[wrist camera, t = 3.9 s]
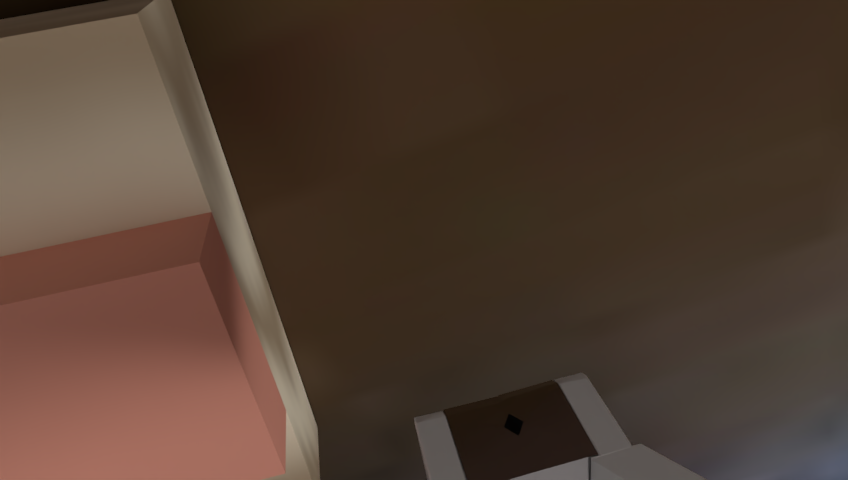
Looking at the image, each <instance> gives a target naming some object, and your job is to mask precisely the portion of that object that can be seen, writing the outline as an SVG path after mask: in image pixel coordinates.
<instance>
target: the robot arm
mask: <svg viewBox="0 0 848 480" xmlns="http://www.w3.org/2000/svg"><path fill="white" fill-rule="evenodd" d="M414 422H415V427H416V431H417V436H418V440H419V445H420V449H421V454H422V458H423V462H424V467H425V471H426V476H427V480H707V479H705V478H703V477H701V476H699V475H698V474H696V473H694V472H692V471H690V470H688V469H687V468H685V467H683V466H681V465H679V464H677V463H676V462H674V461H672V460H670V459H668V458H666V457H665V456H663V455H661V454H659V453H657V452H655V451H653V450H652V449H650V448H648V447H646V446H644V445H642V444H637V445H633V446H632V445H631V443H630V442H629V440H628V439H627V437H626V435H625V434H624V432H623V431H622V429H621V428H620V426H619V425H618V423H617V422H616V420H615V419H614V417H613V415H612V414H611V412H610V411H609V409H608V408H607V406H606V405H605V403H604V402H603V400H602V398H601V397H600V395H599V394H598V392H597V391H596V389H595V388H594V386H593V385H592V383H591V382H590V380H589V378H588V377H587V376H586V375H585V374H583V373H582V372H581V373H577V374H574V375H570V376H566V377H563V378H559V379H556V380H554V381H552V380H551V381H547V382H544V383H540V384H537V385H533V386H530V387H526V388H523V389H519V390H516V391H512V392H509V393H505V394H502V395H498V397H494V398H490V399H486V400H481V401H477V402H473V403H469V404H465V405H461V406H457V407H453V408H449V409H445V410H444V411H438V412H434V413H430V414H426V415H422V416H418V417H415V418H414Z"/></svg>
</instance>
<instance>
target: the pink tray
mask: <svg viewBox="0 0 848 480" xmlns="http://www.w3.org/2000/svg"><path fill="white" fill-rule="evenodd" d="M285 472H286V409H285V406H284V403H283V401H282V398H281V395H280V393H279V390H278V388H277V385H276V382H275V380H274V377H273V374H272V372H271V369H270V366H269V364H268V361H267V358H266V356H265V353H264V350H263V348H262V345H261V342H260V340H259V337H258V334H257V332H256V329H255V326H254V324H253V321H252V318H251V316H250V313H249V310H248V308H247V305H246V302H245V300H244V297H243V294H242V292H241V289H240V286H239V284H238V281H237V278H236V276H235V273H234V270H233V268H232V265H231V262H230V260H229V257H228V254H227V252H226V249H225V246H224V244H223V241H222V238H221V236H220V233H219V230H218V228H217V225H216V222H215V220H214V217H213V214H212V212H209V213H204V214H200V215H195V216H190V217H186V218H181V219H176V220H171V221H167V222H162V223H157V224H153V225H148V226H143V227H138V228H134V229H129V230H124V231H120V232H115V233H110V234H105V235H101V236H96V237H91V238H87V239H82V240H77V241H72V242H68V243H63V244H58V245H54V246H49V247H44V248H39V249H35V250H30V251H25V252H21V253H16V254H11V255H6V256H2V257H0V480H262V479H266V478H270V477H274V476H278V475H282V474H285Z"/></svg>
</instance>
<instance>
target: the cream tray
mask: <svg viewBox="0 0 848 480" xmlns="http://www.w3.org/2000/svg"><path fill="white" fill-rule="evenodd" d="M209 212H212V214H213V217H214V220H215V222H216V225H217V228H218V230H219V233H220V236H221V238H222V241H223V244H224V246H225V249H226V252H227V254H228V257H229V260H230V262H231V265H232V268H233V270H234V273H235V276H236V278H237V281H238V284H239V286H240V289H241V292H242V294H243V297H244V300H245V302H246V305H247V308H248V310H249V313H250V316H251V318H252V321H253V324H254V326H255V329H256V332H257V334H258V337H259V340H260V342H261V345H262V348H263V350H264V353H265V356H266V358H267V361H268V364H269V366H270V369H271V372H272V374H273V377H274V380H275V382H276V385H277V388H278V390H279V393H280V395H281V398H282V401H283V403H284V406H285V409H286V472H285V474H282V475H278V476H274V477H270V478H266V479H262V480H320V469H319V449H318V428H317V424H316V421H315V419H314V416H313V413H312V410H311V407H310V404H309V401H308V398H307V395H306V392H305V389H304V386H303V384H302V381H301V378H300V375H299V372H298V369H297V366H296V363H295V360H294V357H293V354H292V352H291V349H290V346H289V343H288V340H287V337H286V334H285V331H284V328H283V325H282V322H281V319H280V317H279V314H278V311H277V308H276V305H275V302H274V299H273V296H272V293H271V290H270V287H269V285H268V282H267V279H266V276H265V273H264V270H263V267H262V264H261V261H260V258H259V255H258V252H257V250H256V247H255V244H254V241H253V238H252V235H251V232H250V229H249V226H248V223H247V220H246V218H245V215H244V212H243V209H242V206H241V203H240V200H239V197H238V194H237V191H236V188H235V185H234V183H233V180H232V177H231V174H230V171H229V168H228V165H227V162H226V159H225V156H224V153H223V151H222V148H221V145H220V142H219V139H218V136H217V133H216V130H215V127H214V124H213V121H212V118H211V116H210V113H209V110H208V107H207V104H206V101H205V98H204V95H203V92H202V89H201V86H200V84H199V81H198V78H197V75H196V72H195V69H194V66H193V63H192V60H191V57H190V54H189V51H188V49H187V46H186V43H185V40H184V37H183V34H182V31H181V28H180V25H179V22H178V19H177V17H176V14H175V11H174V8H173V5H172V2H171V0H108V1H102V2H97V3H91V4H85V5H80V6H74V7H69V8H63V9H57V10H52V11H46V12H40V13H35V14H29V15H23V16H18V17H12V18H7V19H1V20H0V257H2V256H6V255H11V254H16V253H21V252H25V251H30V250H35V249H39V248H44V247H49V246H54V245H58V244H63V243H68V242H72V241H77V240H82V239H87V238H91V237H96V236H101V235H105V234H110V233H115V232H120V231H124V230H129V229H134V228H138V227H143V226H148V225H153V224H157V223H162V222H167V221H171V220H176V219H181V218H186V217H190V216H195V215H200V214H204V213H209Z"/></svg>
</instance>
